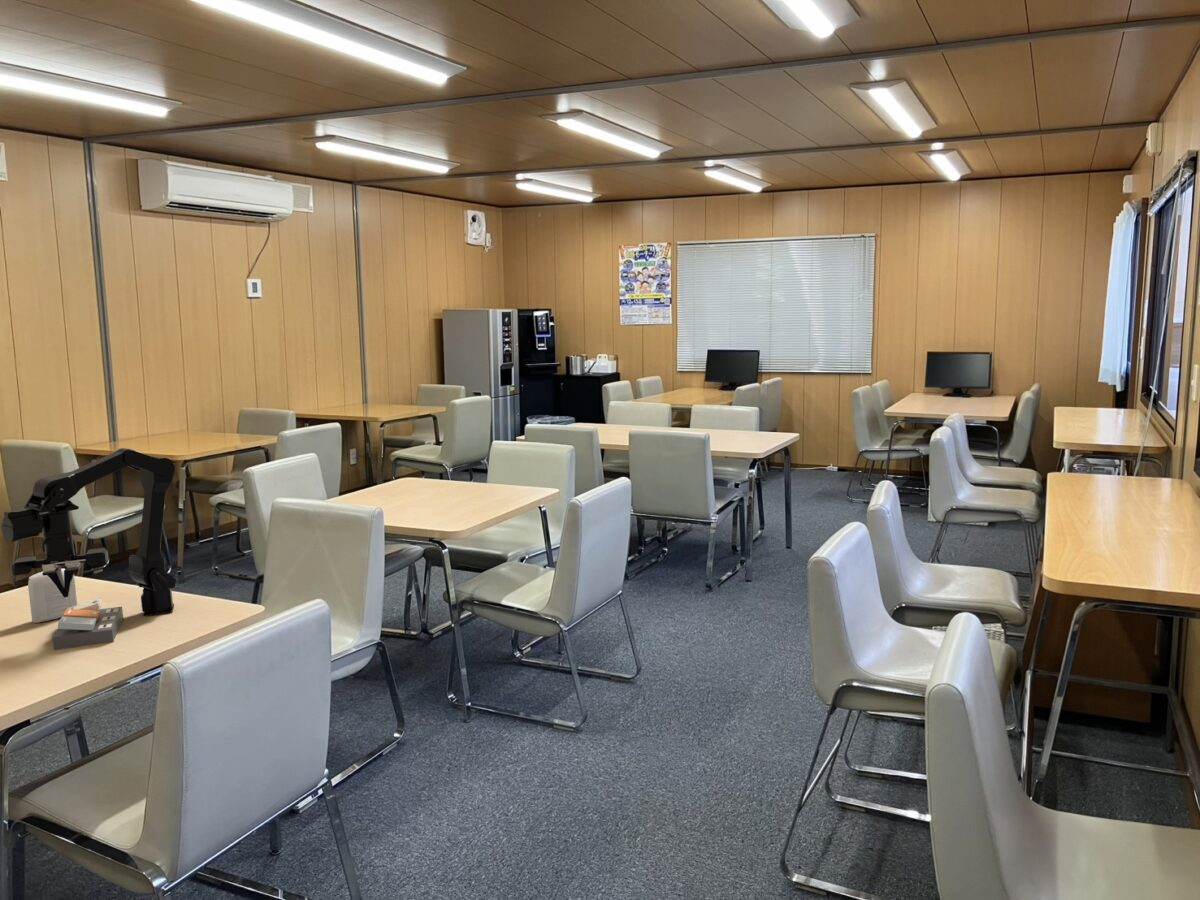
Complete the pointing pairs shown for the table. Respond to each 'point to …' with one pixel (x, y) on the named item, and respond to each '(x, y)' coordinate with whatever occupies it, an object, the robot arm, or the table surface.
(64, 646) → the power strip
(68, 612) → the orange box with knob
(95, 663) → the table surface
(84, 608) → the ivory rocker
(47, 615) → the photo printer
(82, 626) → the grey-blue rocker
